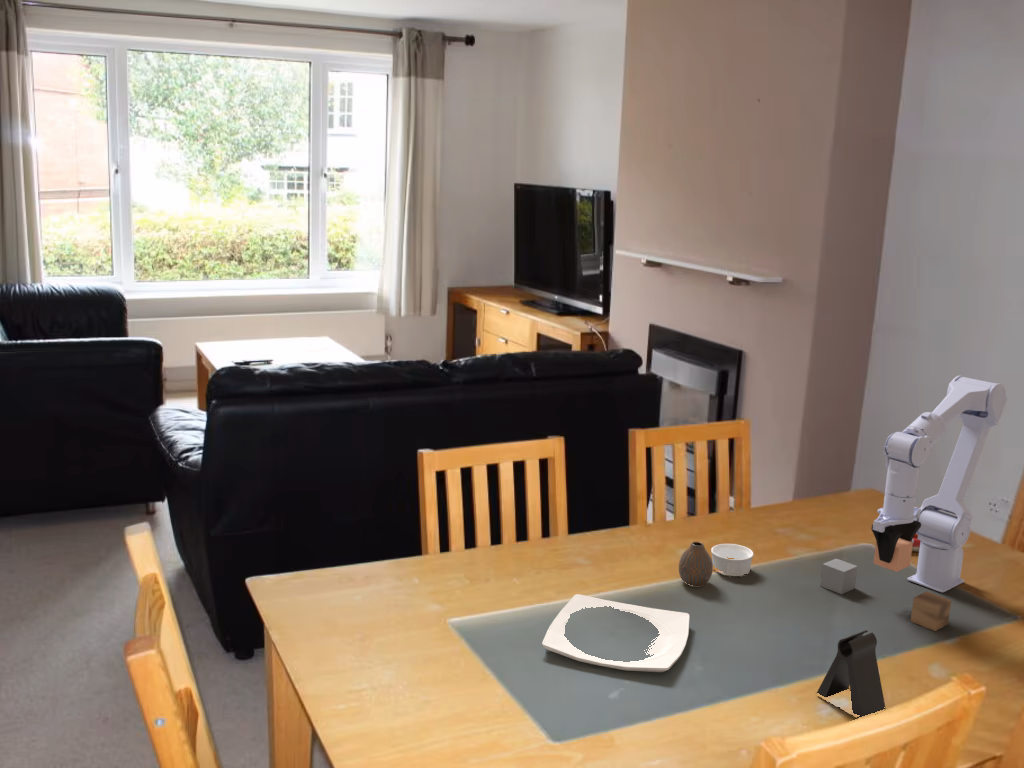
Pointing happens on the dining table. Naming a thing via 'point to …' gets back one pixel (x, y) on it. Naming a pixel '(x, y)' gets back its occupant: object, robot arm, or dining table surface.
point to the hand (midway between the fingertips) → (892, 557)
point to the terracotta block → (896, 556)
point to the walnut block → (931, 611)
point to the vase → (695, 565)
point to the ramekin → (732, 566)
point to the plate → (667, 622)
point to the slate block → (838, 576)
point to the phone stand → (856, 674)
